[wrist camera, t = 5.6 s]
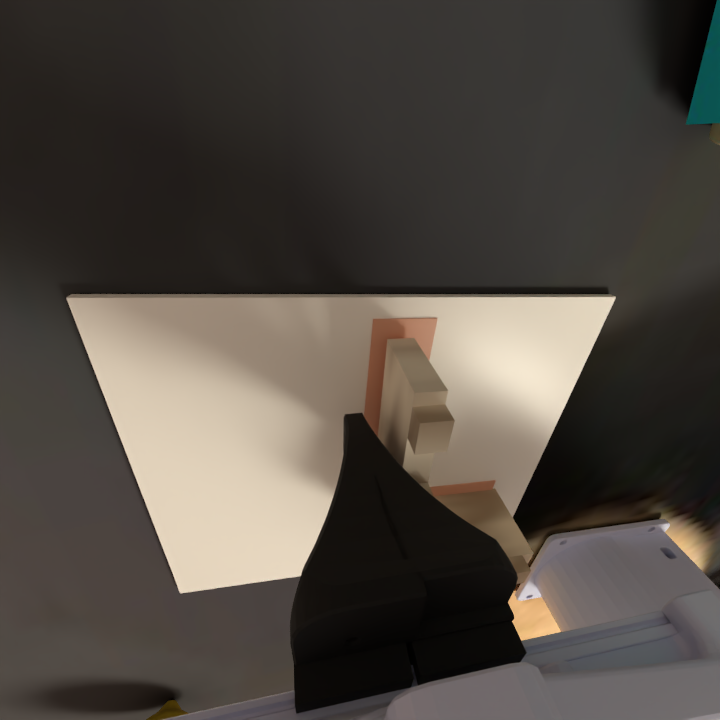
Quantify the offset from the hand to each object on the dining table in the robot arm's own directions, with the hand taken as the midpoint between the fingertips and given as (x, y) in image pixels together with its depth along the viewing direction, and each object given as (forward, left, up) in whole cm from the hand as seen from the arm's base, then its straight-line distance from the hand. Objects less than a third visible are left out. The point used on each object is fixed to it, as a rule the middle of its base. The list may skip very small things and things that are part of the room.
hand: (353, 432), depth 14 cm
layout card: (-1, +3, -1) cm, 4 cm away
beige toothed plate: (-2, +1, -1) cm, 2 cm away
